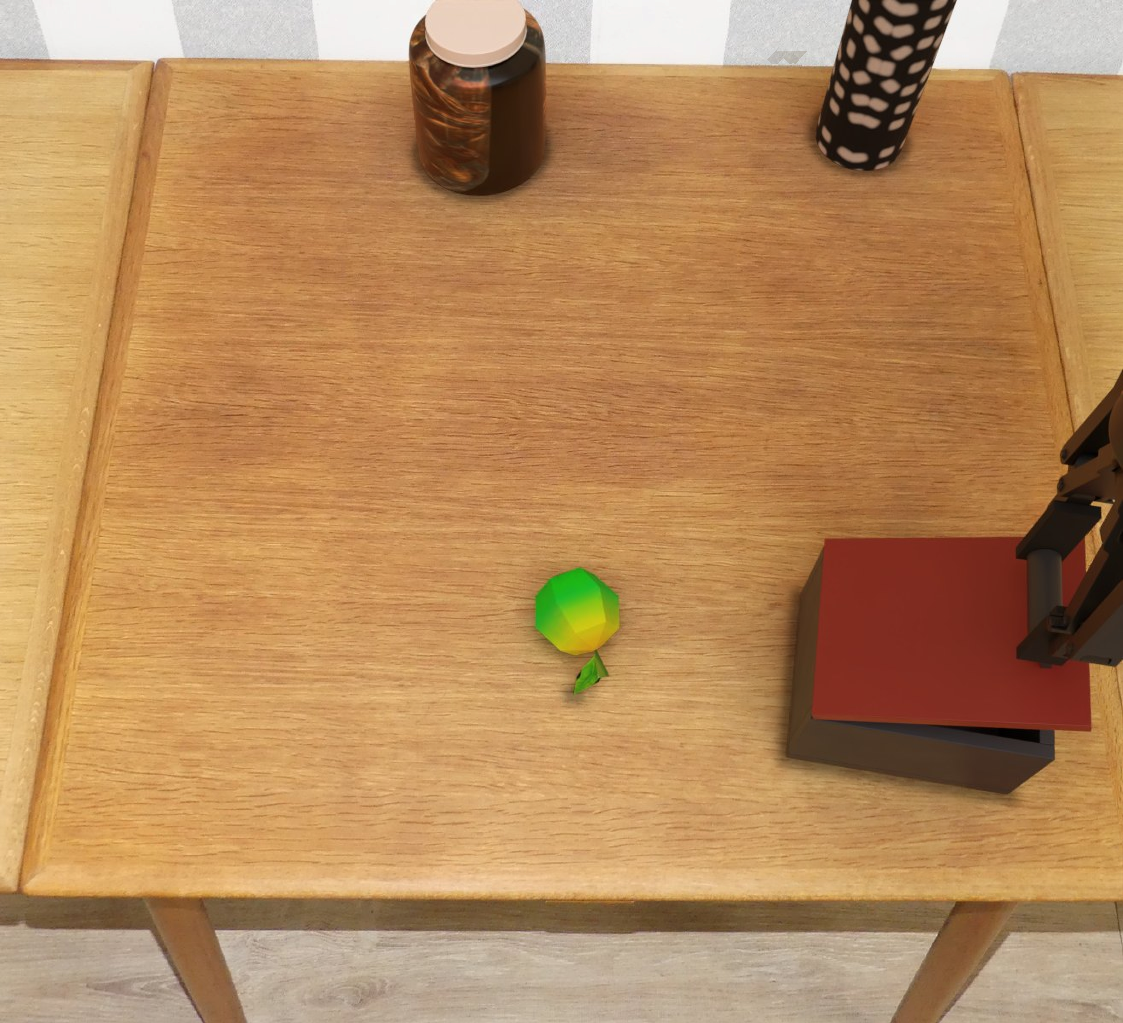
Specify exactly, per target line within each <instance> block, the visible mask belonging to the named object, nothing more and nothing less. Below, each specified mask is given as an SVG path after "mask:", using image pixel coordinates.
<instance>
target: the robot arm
mask: <svg viewBox="0 0 1123 1023" xmlns="http://www.w3.org/2000/svg"><path fill="white" fill-rule="evenodd" d="M1059 461H1060V464H1061V465H1064V466H1067V472H1066V473H1065V474H1063V475H1061V476H1060V478H1059V479H1058V482H1057V484H1056V494H1055V495H1054V497H1053V498H1052V499H1051V500H1050V502H1049V503H1048V504H1047V506H1046V509H1045V511H1044V512H1043V513H1042V514H1041V516H1040V517H1038V519H1037V520H1036V522H1035V523H1034V524H1033V525H1032V527H1031V528H1030V529H1029V530H1028V532H1027V533H1026V534H1025V536H1023V537H1024V538H1023V539H1022V541H1021V542H1020V543H1019V544H1018V546H1017V547H1016V559H1022V560H1027V554H1028V553H1029V552H1031V551H1033V550H1037V549H1051V550H1055V551H1057V552H1059V553H1060V554H1061V561H1062V562H1063V561H1064V559H1065V558H1066V557H1067V556H1068V555H1069V554H1070V553H1071V552H1072V551H1073V549H1074V548H1075V547H1076V546H1077V545H1078V544H1079V543H1080V542H1081V541H1082V539H1083V538H1084V537H1085V538H1086V536H1088V534H1089V533H1090V532H1091V531H1092V530H1093V529H1094V528H1095V526H1097V525H1098V523H1099V522H1100V521H1101V519H1103V517H1102V516H1103V515H1102V506H1099V505H1092V503H1095V502H1096V503H1101V504H1109V505H1111V507H1110V508H1109V511H1108V512H1107V514H1106V516H1105V517H1104V520H1103V522H1102V524H1101V525H1100V527H1099V535H1100V540H1101V544H1100V547H1099V548H1098V550H1097V552H1096V554H1095V555H1094V557H1093V559H1092V561H1091V563H1090V564H1089V566H1088V568H1087V569H1086V574H1085V576H1084V577H1083V579H1082V581H1081V583H1080V585H1079V586H1078V588H1077V590H1076V592H1075V594H1074V595H1073V597H1072V599H1071V601H1070V603H1069V605H1068V606H1067V607H1065V606H1058V605H1056V606H1055V607H1054V609H1053V610H1052V611H1051V612H1049V614H1048V615H1047V616H1046V617H1045V618H1044V619H1043V620H1042V621H1041V622H1040V623H1039V624H1038V625H1037V626H1036V627H1035V628H1034V629H1033V630H1032V631H1031V633H1030V634H1029V635H1028V636H1027V637H1026V638H1025V639H1024V640H1023V641H1022V642H1021V643H1020V644H1019V645H1018V646H1017V647H1016V659H1020V660H1027V661H1033V662H1039V663H1046V664H1052V665H1059V666H1062V665H1064V664H1065V663H1066V662H1067V661H1068V660H1073V661H1079V662H1086V663H1089V664H1092V665H1093V664H1094V665H1100V666H1104V667H1105V666H1106V667H1112V668H1116V667H1118V665H1120V664H1121V663H1122V662H1123V368H1122V369H1121V371H1120V373H1119V375H1118V377H1117V379H1116V381H1115V383H1114V385H1113V387H1112V388H1111V389H1110V390H1109V391H1108V393H1107V394H1106V395H1105V396H1104V397H1103V399H1102V400H1101V401H1100V402H1099V403H1098V405H1097V406H1096V407H1095V408H1094V409H1093V410H1092V412H1090V414H1089V415H1088V416H1087V417H1086V418H1085V420H1084V421H1083V422H1082V423H1081V424H1080V426H1079V427H1078V428H1077V429H1076V430H1075V431H1074V432H1073V434H1072V435H1071V436H1070V437H1069V439H1068V440H1067V441H1066V442H1065V443H1064V445H1063V446H1062V448H1061V450H1060V453H1059Z"/></svg>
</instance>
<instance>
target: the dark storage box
mask: <svg viewBox="0 0 1123 1023" xmlns="http://www.w3.org/2000/svg"><path fill="white" fill-rule="evenodd" d="M823 554H824V546H823V547H822V549H821V551H820V553H819V555H818V557H817V559H816V560H815V563H814V565H813V567H812V569H811V571H810V573H809V574H808V575H809V576H808V577H807V580H806V581H805V584H804V585H803V588H802V590H801V592H800V594H799V598H798V610H797V622H796V634H795V646H794V657H793V670H792V680H791V693H790V706H789V717H788V727H787V728H788V729H787V740H786V751H785V752H786V753H785V757H786V758H787V759H793V760H798V761H799V760H800V761H805V762H811V763H817V764H823V765H830V766H834V767H835V766H836V767H841V768H846V769H853V770H859V771H865V772H871V773H875V774H876V773H877V774H883V775H889V776H894V777H899V778H900V777H901V778H907V779H912V780H917V781H918V780H919V781H925V782H931V783H937V784H942V785H948V786H953V787H954V786H955V787H960V788H967V789H973V790H978V791H984V792H991V793H996V794H1002V795H1009V794H1011V793H1012V792H1013V791H1014V790H1016V789H1018V788H1019V787H1020V786H1022V785H1023V784H1024V783H1025V782H1027V781H1028V780H1029V779H1031V778H1033V777H1034V776H1035V775H1036V774H1038V773H1039V772H1041V771H1042V770H1043V769H1045V768H1046V767H1047V766H1048V765H1050V764H1051V763H1053V762H1054V761H1055V760H1056V746H1055V745H1056V740H1055V739H1056V733H1055V731H1056V730H1040V729H1018V728H996V727H974V726H952V725H930V724H908V723H887V722H865V721H843V720H821V719H814V718H813V716H812V714H811V713H812V700H813V687H814V673H815V660H816V647H817V633H818V620H819V607H820V594H821V580H822V567H823Z"/></svg>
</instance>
